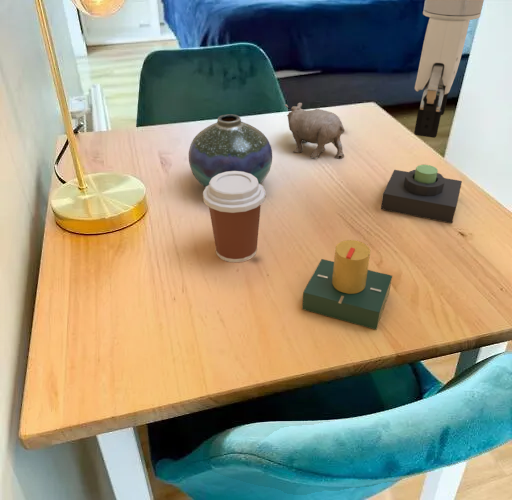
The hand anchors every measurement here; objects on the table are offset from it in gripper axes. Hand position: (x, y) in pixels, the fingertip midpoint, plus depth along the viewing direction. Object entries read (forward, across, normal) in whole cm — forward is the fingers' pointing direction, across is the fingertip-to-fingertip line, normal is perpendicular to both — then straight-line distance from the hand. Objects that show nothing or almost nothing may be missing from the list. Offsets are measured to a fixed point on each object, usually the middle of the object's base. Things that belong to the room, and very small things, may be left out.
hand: (429, 124), depth 79 cm
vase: (+16, +3, -33) cm, 37 cm away
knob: (+13, +27, -5) cm, 30 cm away
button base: (+16, -4, +1) cm, 16 cm away
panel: (+16, +27, -5) cm, 32 cm away
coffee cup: (+16, +22, -24) cm, 36 cm away
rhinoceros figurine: (+16, -19, -25) cm, 35 cm away
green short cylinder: (+11, -4, +1) cm, 12 cm away
